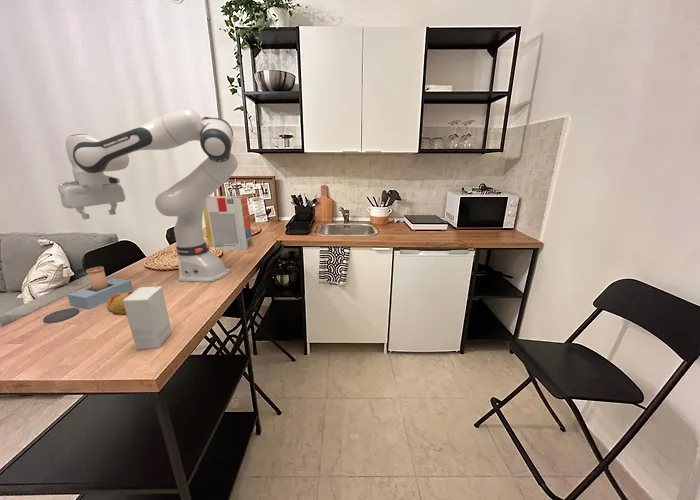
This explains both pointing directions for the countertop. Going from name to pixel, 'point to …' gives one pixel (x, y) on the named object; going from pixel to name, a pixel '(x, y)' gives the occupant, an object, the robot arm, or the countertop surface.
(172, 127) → the robot arm
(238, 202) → the pasta box
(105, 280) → the orange-brown cylinder
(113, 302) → the croissant
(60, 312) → the mat
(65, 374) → the countertop surface
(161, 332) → the skincare box
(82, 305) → the pocket block
